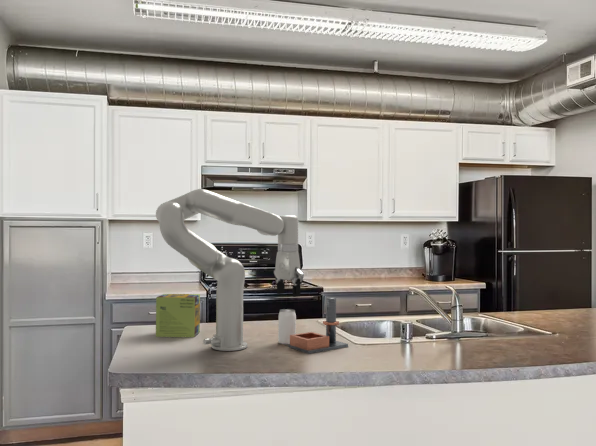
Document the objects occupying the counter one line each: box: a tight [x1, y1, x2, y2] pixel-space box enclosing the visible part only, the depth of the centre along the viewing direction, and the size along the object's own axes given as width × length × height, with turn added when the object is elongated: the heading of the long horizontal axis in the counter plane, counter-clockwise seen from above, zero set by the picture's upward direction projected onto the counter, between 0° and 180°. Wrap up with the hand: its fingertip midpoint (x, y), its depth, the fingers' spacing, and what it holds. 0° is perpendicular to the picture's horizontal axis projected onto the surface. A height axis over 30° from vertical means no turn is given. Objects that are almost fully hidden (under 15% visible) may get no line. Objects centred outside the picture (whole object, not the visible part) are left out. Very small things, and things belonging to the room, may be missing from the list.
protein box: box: [155, 293, 201, 338], centre depth 218 cm, size 10×15×16 cm
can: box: [277, 308, 297, 346], centre depth 204 cm, size 6×6×12 cm
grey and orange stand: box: [287, 297, 349, 355], centre depth 198 cm, size 18×12×17 cm, turn 127°
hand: (288, 294), depth 205 cm, fingers open, 9 cm apart
